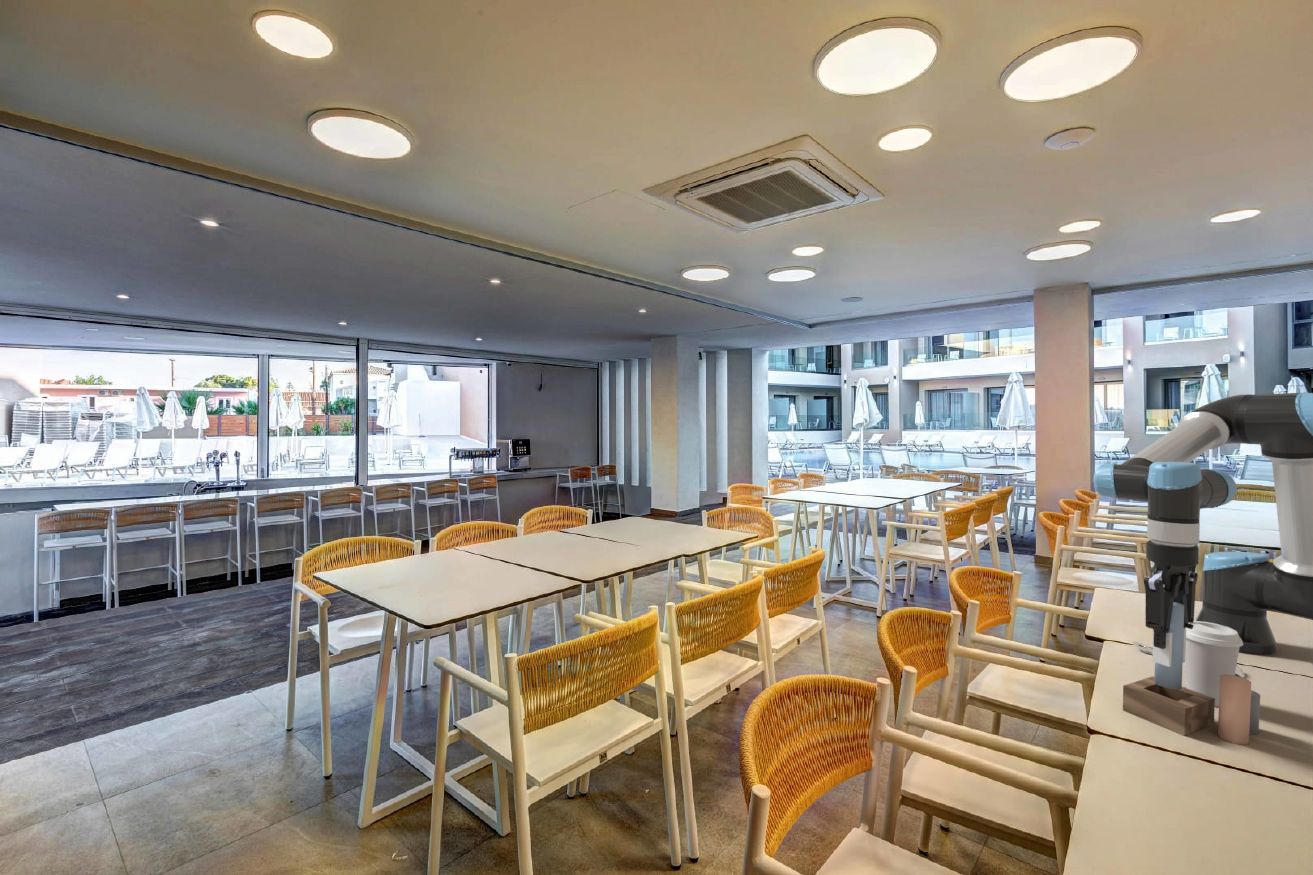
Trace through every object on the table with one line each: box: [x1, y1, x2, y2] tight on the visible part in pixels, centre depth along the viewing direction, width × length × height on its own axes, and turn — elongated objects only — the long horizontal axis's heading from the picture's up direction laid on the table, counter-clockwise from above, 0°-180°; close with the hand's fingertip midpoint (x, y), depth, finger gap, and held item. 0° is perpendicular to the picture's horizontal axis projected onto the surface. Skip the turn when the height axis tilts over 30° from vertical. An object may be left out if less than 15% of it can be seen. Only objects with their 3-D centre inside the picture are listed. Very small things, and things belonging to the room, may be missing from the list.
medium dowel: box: [1217, 674, 1252, 746], centre depth 105 cm, size 4×4×11 cm
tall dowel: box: [1153, 602, 1184, 690], centre depth 112 cm, size 4×4×16 cm
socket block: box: [1122, 675, 1216, 737], centre depth 112 cm, size 10×10×5 cm
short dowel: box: [1249, 689, 1261, 735], centre depth 108 cm, size 4×4×7 cm
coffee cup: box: [1183, 620, 1243, 708], centre depth 119 cm, size 10×10×15 cm
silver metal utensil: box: [1132, 641, 1246, 678], centre depth 137 cm, size 20×4×5 cm
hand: (1168, 661), depth 112 cm, fingers closed on tall dowel, 4 cm apart
